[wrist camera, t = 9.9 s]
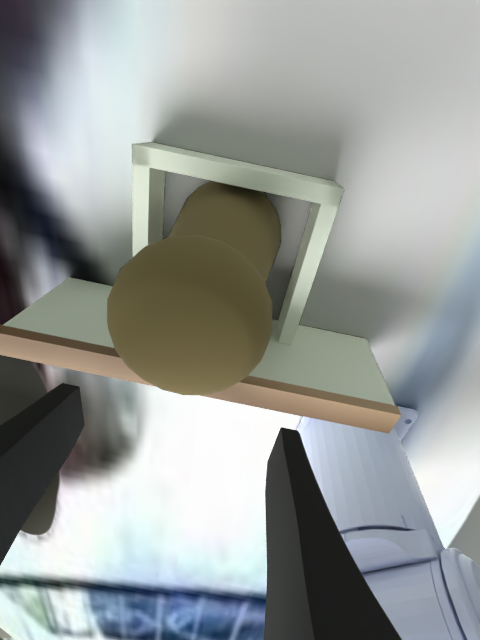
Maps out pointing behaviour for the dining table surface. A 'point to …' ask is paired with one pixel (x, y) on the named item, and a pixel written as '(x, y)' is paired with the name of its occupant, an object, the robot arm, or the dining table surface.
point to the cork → (200, 294)
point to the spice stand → (287, 335)
